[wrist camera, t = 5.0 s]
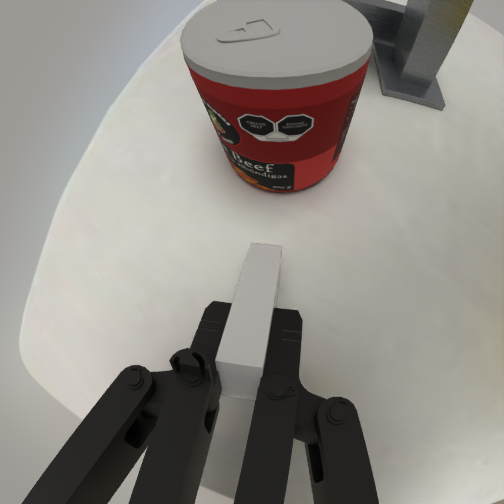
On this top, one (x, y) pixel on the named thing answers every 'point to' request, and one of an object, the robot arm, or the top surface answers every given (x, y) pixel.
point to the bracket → (412, 44)
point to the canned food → (279, 83)
